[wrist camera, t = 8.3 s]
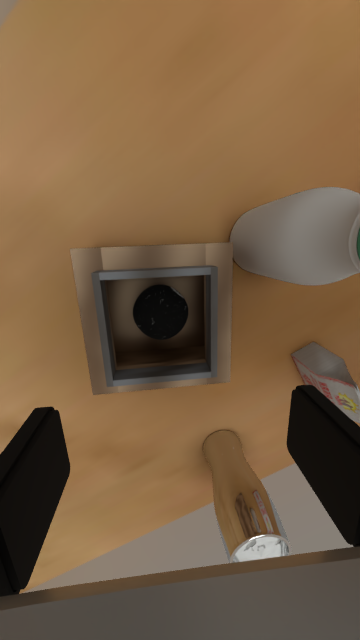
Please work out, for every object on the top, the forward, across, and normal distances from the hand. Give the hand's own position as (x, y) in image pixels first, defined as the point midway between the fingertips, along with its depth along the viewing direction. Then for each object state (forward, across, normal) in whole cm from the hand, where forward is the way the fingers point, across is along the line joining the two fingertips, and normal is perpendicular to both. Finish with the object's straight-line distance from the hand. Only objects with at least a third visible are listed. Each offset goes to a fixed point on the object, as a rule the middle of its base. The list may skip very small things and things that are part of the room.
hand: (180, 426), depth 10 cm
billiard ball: (+22, +1, 0) cm, 22 cm away
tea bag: (+24, -21, +11) cm, 34 cm away
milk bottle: (+24, -12, -7) cm, 27 cm away
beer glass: (+24, -8, +24) cm, 34 cm away
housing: (+23, +1, 0) cm, 23 cm away
